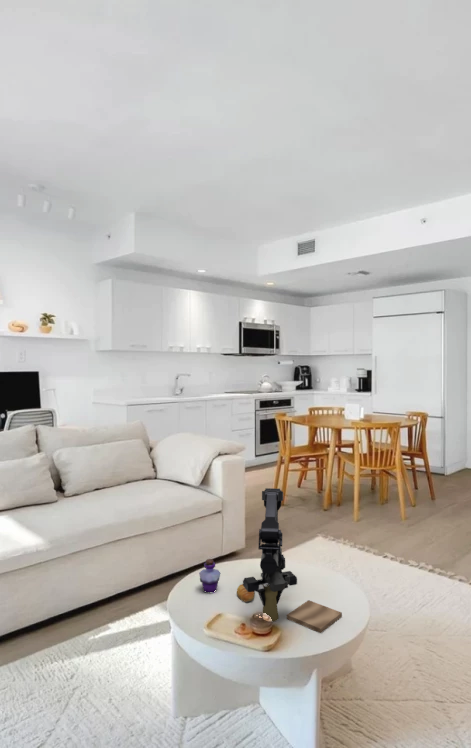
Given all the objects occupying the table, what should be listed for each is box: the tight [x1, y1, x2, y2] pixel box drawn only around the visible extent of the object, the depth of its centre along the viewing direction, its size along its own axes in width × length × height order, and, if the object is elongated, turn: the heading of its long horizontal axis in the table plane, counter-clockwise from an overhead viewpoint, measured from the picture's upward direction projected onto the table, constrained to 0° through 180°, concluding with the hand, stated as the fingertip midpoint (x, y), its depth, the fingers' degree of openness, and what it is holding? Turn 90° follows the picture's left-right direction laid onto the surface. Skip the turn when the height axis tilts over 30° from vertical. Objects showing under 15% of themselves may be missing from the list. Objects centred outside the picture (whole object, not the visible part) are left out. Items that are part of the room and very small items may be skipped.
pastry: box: [236, 583, 256, 603], centre depth 193 cm, size 9×7×4 cm
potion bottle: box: [198, 558, 221, 593], centre depth 199 cm, size 9×9×12 cm
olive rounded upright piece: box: [262, 584, 280, 622], centre depth 178 cm, size 6×6×11 cm
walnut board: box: [286, 600, 343, 634], centre depth 177 cm, size 14×14×2 cm
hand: (270, 604), depth 178 cm, fingers closed on olive rounded upright piece, 4 cm apart
